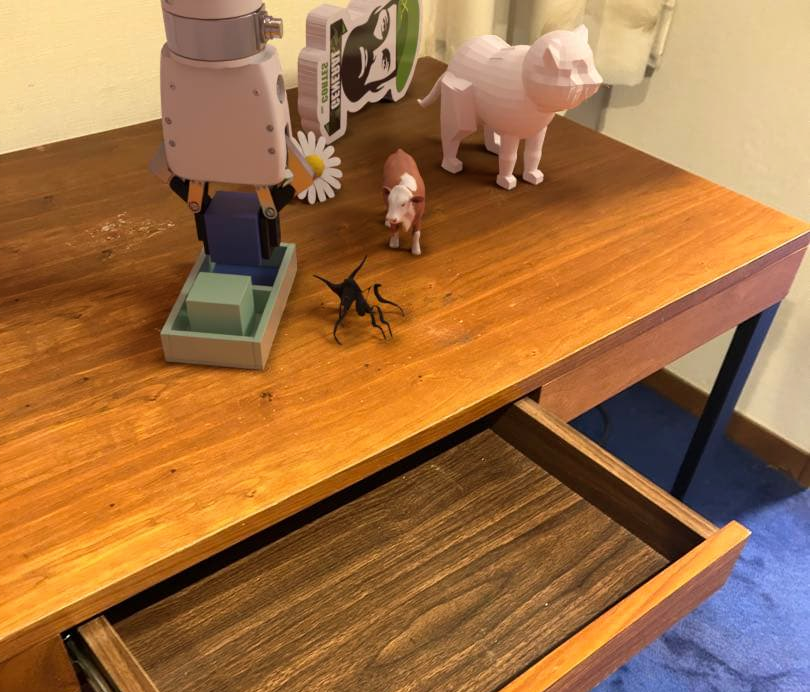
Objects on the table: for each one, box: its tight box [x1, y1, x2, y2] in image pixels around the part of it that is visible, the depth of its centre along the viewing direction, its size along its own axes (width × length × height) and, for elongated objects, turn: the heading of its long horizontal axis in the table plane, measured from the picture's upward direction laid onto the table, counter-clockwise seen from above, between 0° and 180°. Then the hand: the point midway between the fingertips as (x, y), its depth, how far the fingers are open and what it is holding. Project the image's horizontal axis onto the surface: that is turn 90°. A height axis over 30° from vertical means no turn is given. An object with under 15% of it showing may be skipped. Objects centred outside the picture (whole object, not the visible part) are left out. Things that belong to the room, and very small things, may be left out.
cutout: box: [296, 0, 424, 146], centre depth 106 cm, size 15×3×25 cm
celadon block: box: [186, 272, 256, 337], centre depth 75 cm, size 5×5×5 cm
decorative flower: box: [282, 130, 343, 205], centre depth 95 cm, size 8×6×15 cm
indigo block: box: [204, 190, 264, 266], centre depth 77 cm, size 5×5×5 cm
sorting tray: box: [159, 241, 298, 371], centre depth 79 cm, size 9×16×3 cm, turn 175°
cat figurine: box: [416, 23, 609, 191], centre depth 95 cm, size 25×10×17 cm, turn 47°
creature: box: [312, 253, 405, 346], centre depth 77 cm, size 8×5×8 cm
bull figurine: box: [381, 148, 426, 256], centre depth 87 cm, size 4×13×8 cm, turn 0°
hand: (240, 248), depth 79 cm, fingers closed on indigo block, 4 cm apart
